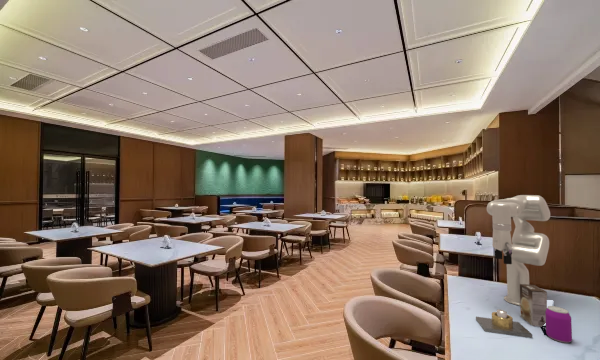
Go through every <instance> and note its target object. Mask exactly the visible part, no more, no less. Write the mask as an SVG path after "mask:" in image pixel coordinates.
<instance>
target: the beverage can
mask: <svg viewBox="0 0 600 360" xmlns="http://www.w3.org/2000/svg"><path fill="white" fill-rule="evenodd" d="M545 314H546V327H545V334H546V335H547V336H548V337H549V338H550V339H552V340H554V341H556V342H560V343H563V344H565V343H566V344H569V343H570V342H572V341H573V332H572V331H573V330H572V329H573V326H572V317H571V315H570V313H569V310H567V309H565V308H562V307H559V306H554V305H547V309H546V311H545Z"/></svg>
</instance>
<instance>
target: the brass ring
mask: <svg viewBox="0 0 600 360" xmlns="http://www.w3.org/2000/svg"><path fill="white" fill-rule="evenodd" d="M491 319H492V323H493V324H494V325H495V326H497V327H500V328H504V329H512V328H513V321H514V320H513V317H512V316H511V315H509V314H507V319H506V318H501V317H498V316H497V311H493V312H492V313H491Z"/></svg>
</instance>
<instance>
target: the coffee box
mask: <svg viewBox="0 0 600 360" xmlns="http://www.w3.org/2000/svg"><path fill="white" fill-rule="evenodd" d="M547 296H548V293H547V291H546V290H544V289H542V288H540V287H539V286H537V285H535V284H529V285H528V284H520V306H519V307H520V308H519V309H520V311H519V312H520V314H519V315H520V318H521V319H523V320H524V321H526V322H527V323H528V324H529V325H530V326H532V327H542V326H543V325H544V324H545V323H546V314H545V311H546V309H547V308H548V299H547V298H548V297H547ZM542 328H543V327H542Z"/></svg>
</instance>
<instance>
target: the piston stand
mask: <svg viewBox="0 0 600 360" xmlns="http://www.w3.org/2000/svg"><path fill="white" fill-rule="evenodd" d="M496 312H497V316H498V317H501V318H506V319H507V315H508V312H507V311H506V310H504V309H500V308H499V309H496ZM475 321H476V322H477V323H478V324H479V326H480V327H481V328H482V330H483V331H484V332H486V333H493V334H501V335H506V336H507V335H508V336H515V337H522V338H528V339H533V334H532V333H531V332H530V331H529V330H528V329H527V328H526V327H525V326H524V325H523V324H521V323H520V322H519V321H515V320H513V328H512V329H504V328H500V327H497V326H495V325H494V324H493V323H492V317H491V318H489V317H482V316H475Z"/></svg>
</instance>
